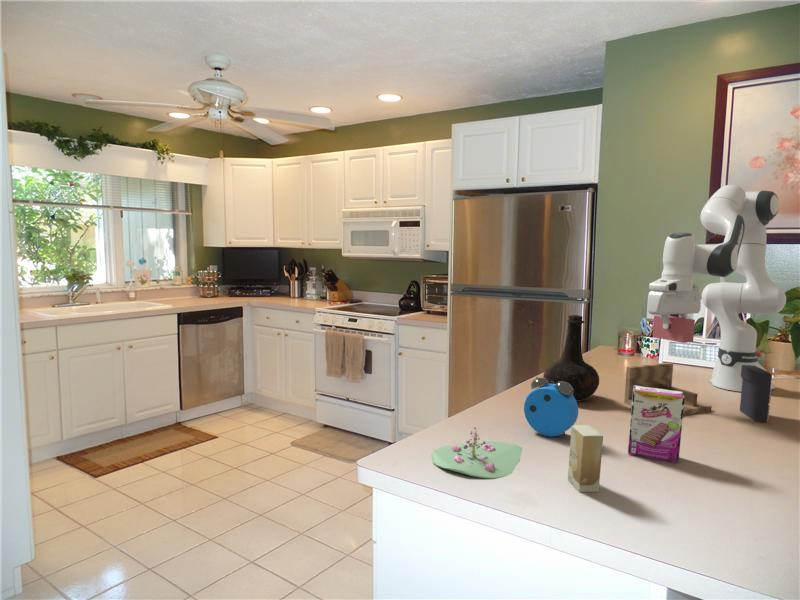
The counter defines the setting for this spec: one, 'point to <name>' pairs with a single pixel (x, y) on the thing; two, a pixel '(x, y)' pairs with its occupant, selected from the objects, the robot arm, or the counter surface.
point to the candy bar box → (656, 423)
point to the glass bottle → (574, 364)
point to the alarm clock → (551, 407)
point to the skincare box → (585, 458)
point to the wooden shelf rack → (660, 385)
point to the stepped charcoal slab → (755, 393)
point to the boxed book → (674, 329)
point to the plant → (479, 458)
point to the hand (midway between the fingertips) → (673, 328)
